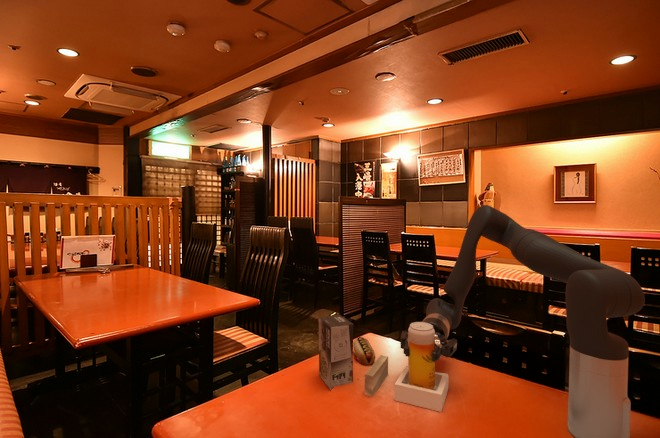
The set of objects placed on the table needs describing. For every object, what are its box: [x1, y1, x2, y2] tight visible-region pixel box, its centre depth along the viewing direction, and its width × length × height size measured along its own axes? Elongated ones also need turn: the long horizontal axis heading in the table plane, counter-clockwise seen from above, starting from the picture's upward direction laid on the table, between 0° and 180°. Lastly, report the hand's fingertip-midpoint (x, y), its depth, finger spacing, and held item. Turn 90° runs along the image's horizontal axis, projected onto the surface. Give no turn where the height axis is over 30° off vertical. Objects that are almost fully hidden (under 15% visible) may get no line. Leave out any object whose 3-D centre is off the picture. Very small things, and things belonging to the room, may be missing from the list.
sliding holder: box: [393, 365, 449, 413], centre depth 84 cm, size 10×10×4 cm
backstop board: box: [364, 355, 389, 398], centre depth 85 cm, size 20×12×6 cm, turn 64°
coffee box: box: [318, 314, 354, 391], centre depth 93 cm, size 9×6×16 cm
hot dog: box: [353, 336, 376, 366], centre depth 106 cm, size 5×13×5 cm, turn 6°
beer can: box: [407, 321, 436, 390], centre depth 84 cm, size 6×6×15 cm
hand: (420, 354), depth 82 cm, fingers closed on beer can, 5 cm apart
